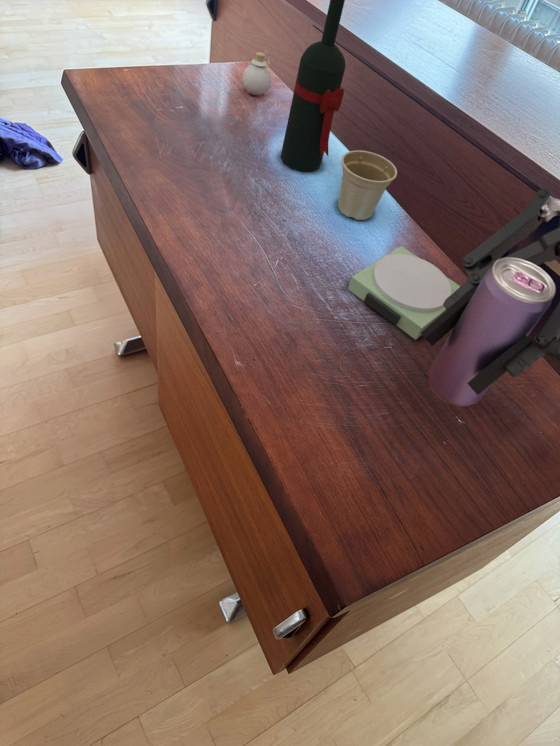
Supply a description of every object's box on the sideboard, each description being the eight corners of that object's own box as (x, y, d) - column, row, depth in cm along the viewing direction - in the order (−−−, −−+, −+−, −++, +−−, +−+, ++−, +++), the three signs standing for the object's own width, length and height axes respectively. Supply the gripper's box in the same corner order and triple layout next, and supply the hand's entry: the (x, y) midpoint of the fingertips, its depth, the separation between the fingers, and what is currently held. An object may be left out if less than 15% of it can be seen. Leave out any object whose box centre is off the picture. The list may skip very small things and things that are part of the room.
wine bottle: (301, 182, 102) (345, -7, 80) (272, 152, 107) (307, -35, 85) (336, 175, 106) (388, -7, 83) (306, 147, 111) (348, -33, 88)
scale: (461, 303, 88) (470, 287, 86) (413, 342, 81) (421, 325, 78) (396, 257, 93) (402, 241, 90) (344, 290, 85) (350, 273, 83)
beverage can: (469, 419, 57) (549, 313, 46) (416, 388, 58) (481, 278, 47) (487, 384, 61) (565, 277, 49) (437, 356, 62) (502, 246, 51)
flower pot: (346, 188, 104) (359, 143, 97) (390, 212, 101) (406, 168, 95) (318, 207, 98) (331, 162, 92) (364, 233, 96) (380, 188, 89)
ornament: (261, 86, 124) (268, 37, 117) (276, 103, 120) (285, 53, 113) (236, 87, 122) (242, 37, 114) (251, 104, 118) (258, 53, 110)
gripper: (748, 271, 48) (524, 446, 53) (576, 152, 57) (398, 310, 62) (772, 231, 41) (515, 434, 46) (574, 104, 50) (376, 285, 55)
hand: (449, 363), depth 54 cm, fingers closed on beverage can, 6 cm apart
